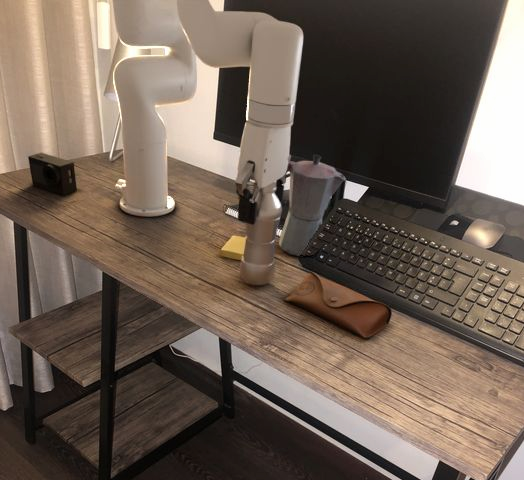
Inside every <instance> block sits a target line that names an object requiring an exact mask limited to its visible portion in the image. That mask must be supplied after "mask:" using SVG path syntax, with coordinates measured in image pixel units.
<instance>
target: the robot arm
mask: <svg viewBox="0 0 524 480" xmlns="http://www.w3.org/2000/svg"><path fill="white" fill-rule="evenodd" d="M112 8H113V16H114V24H115V29H116V30H115V31H116V34H117V37H118V38H119V41H120V43H122V44H123V45H124V46H126V47H129V48H134V49H135V48H136V49H153V48H154V49H157V48H158V49H159V48H164V49H165V54H159V55H156V54H149V55H145V54H143V55H133V56H127V57H124V58H122V59H121V60H119V61H118V62H117V63H116V65H115V67H114V69H113V75H112V78H113V85H114V86H113V87H114V90H115V94H116V95H115V96H116V99H117V104H118V109H119V116H120V124H121V138H122V139H121V140H122V153H123V154H122V155H123V170H124V171H123V172H124V179H118V180H117V181H116V184H115V185H114V188H113V189H114V191H116V192H120V193H122V197H121V198H120V199H119V208H120V209H121V210H122V211H123V212H125V213H127V214H129V215H132V216H137V217H159V216H163V215H167V214H169V213H171V212H172V211H173V210H174V209H175V203H176V202H175V200H174V199H173V198H172V197H171V196H169V190H168V189H169V188H168V187H169V185H168V184H169V182H168V141H167V140H168V139H167V138H168V137H167V135H168V134H167V133H168V132H167V127H166V124H165V122H164V120H163V119H162V117H161V116H160V114H159V113H158V111H157V109H156V108H158V107H162V106H173V105H181V104H186V103H188V102H190V101H192V99H193V98H194V97H195V95H196V92H197V87H198V86H197V84H198V70H197V68H198V67H197V58H198V59H199V60H200V61H201V62H202V63H203V64H204V65H205V66H207V67H210V68H213V69H214V68H215V69H220V68H221V69H223V68H224V69H225V68H226V69H227V68H239V67H242V68H243V67H244V68H247V67H248V68H249V79H248V81H249V82H248V90H247V104H246V105H247V107H246V115H245V117H246V118H245V119H246V122H245V124H244V127H243V132H242V136H241V141H240V146H239V147H240V148H239V156H238V163H237V172H236V178H235V181H234V183H235V188H236V190H235V191H236V194H237V199H238V209H237V220H238V221H239V222H242V223H244V224H246V223H248V224H251V225H253V224H255V221H256V211H257V202H256V201H255V200H256V197H257V195H258V192H259V190H260V189H261V188H264V187H266V186H268V185H270V184H271V183H272V182H273V181H275V180H277V181H276V187H277V188H276V191H275V194H276V196H277V197H278V199H279V201H280V203H281V206H283V205H282V200H283V199H284V192H285V184H286V183H287V178H286V177H287V174H288V172H289V171H288V167H287V166H288V165H289V162H290V161H291V159H292V154H290V149H291V134H292V133H291V132H292V131H291V130H292V126H293V125H294V117H295V111H296V102H297V93H298V85H299V79H300V71H301V62H302V54H303V46H304V31H303V29H302V28H301V27H300V25H299V26H298V25H297V24H295V23H292V22H288V21H282V20H278V19H277V18H275V17H273V16H272V15H271V14H268V13H265V12H259V11H242V10H241V11H237V10H235V11H234V10H232V11H231V10H221V11H220V10H215V9H214V7H213V6H212V4H211V2H210V0H112ZM255 181H257V183H255ZM249 188H252V191H250V190H249ZM283 201H284V200H283Z"/></svg>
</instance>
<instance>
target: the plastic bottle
mask: <svg viewBox="0 0 524 480" xmlns="http://www.w3.org/2000/svg"><path fill="white" fill-rule="evenodd" d="M276 181H277V180H275V181H273V182H272V183H271V184H270V185H268V186H266V187H264V188H261V189H260V190H259V192H258V195H257V197H256V200H255V201H256V202H257V211H256V221H255V224H253V225H251V224H248V223H245V238H246V239H245V247H244V252H243V257H242V260H240V264H239V275H240V278H241V279H242V280H243V282H245V283H247V284H249V285H251V286H264V285H267V284H269V283H270V282H271V281H272V280H273V279H274V277H275V273H276V261H275V246H276V245H275V244H276V238H277V232H278V228H279V224H280V220H281V217H282V213H283V207H282V206H283V205H282V206H281V203H280V201H279V199H278V197H277V196H276V194H275V191H276V188H277V187H276ZM254 183H257V181H254Z"/></svg>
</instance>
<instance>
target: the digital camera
mask: <svg viewBox="0 0 524 480" xmlns="http://www.w3.org/2000/svg"><path fill="white" fill-rule="evenodd" d="M27 158H28V164H29V165H28V166H29V170H30V177H31V182H32V185H33V186H35V187H38V188H42V189H44V190H47V191H50V192H52V193H53V192H54V193H56V194H59V195H63V196H65V195H68V194H71V193H73V192H77V191H78V188H77V180H76V171H75V170H76V169H75V163H74V161H71V160H67V159H65V158H61V157H58V156H54V155H52V154H48V153H44V152H38V153H34V154H32V155H28V156H27Z"/></svg>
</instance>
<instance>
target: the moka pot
mask: <svg viewBox="0 0 524 480" xmlns="http://www.w3.org/2000/svg"><path fill="white" fill-rule="evenodd" d="M321 159H322V156H321V155H319V154H313V157H312V161H311V160H300V161H297V162H295V161H293V160H290V162H289V165H288V166H287V167H288V172H289V177H290V178H289V192H288V193H289V194H288V195H289V196H288V200H289V203H288V212H287V215H286V218H285V221H284V225H283V227H282V230H281V233H280V236H279V240H278V245H279V247H280V248H281V250H283V251H284V252H286V253H287V254H289V255H293V256H297V257H301V256H300V255H301V252H302V251H303V249H304V248H305V247H306V246H307V244H308V242H309V240H310V239H311V238H312V237H313V235H314V234H315V233H316V231H317V230H318V228H319V227H320V225H321V224H322V225H323V217H324V214H325V211H326V210H327V209H328V207H329V203H330V200H331V198H332V196H333V195H334V194H335V193H336V191H337V190H338V189H339V187H341V185H342V183H343V182H346V180H347V179H346V177H345V175H344V174H343V173H341V172H339V171H337V169H336V168H335V167H334V166H331V165H329V164H326V163H323V162H321ZM286 205H287V202H286V200H282V206H284V207H285V206H286Z"/></svg>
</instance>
